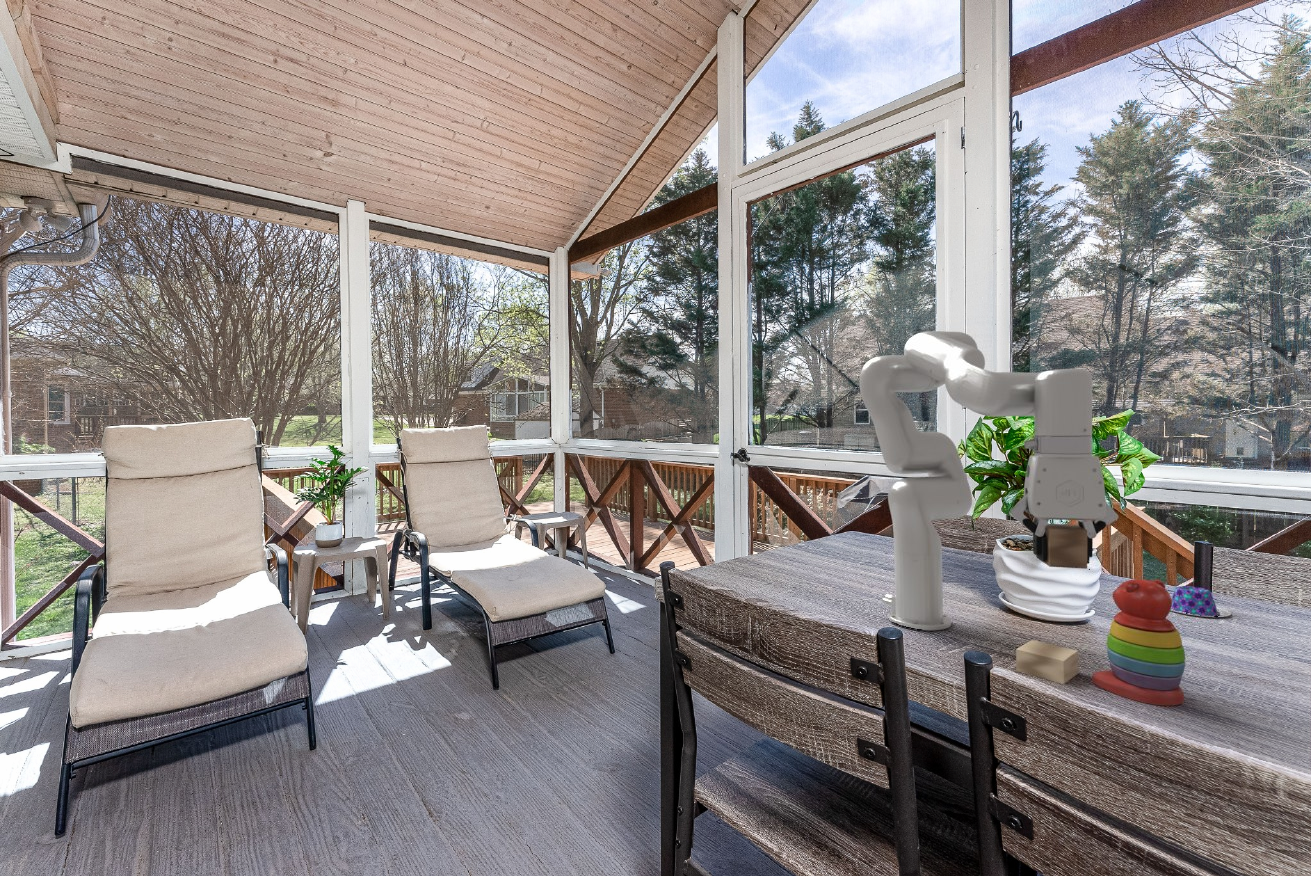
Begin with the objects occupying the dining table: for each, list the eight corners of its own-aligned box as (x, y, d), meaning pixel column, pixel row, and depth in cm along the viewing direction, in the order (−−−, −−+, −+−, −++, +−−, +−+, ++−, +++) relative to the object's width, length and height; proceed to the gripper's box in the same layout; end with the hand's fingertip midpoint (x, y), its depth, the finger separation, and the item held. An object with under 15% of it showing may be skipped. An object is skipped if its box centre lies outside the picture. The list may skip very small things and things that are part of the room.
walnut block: (1049, 566, 90) (1049, 528, 90) (1038, 559, 95) (1039, 523, 95) (1087, 568, 89) (1087, 530, 89) (1074, 561, 94) (1074, 524, 94)
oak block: (1016, 672, 99) (1016, 649, 99) (1032, 661, 104) (1032, 639, 104) (1063, 685, 94) (1063, 660, 94) (1078, 674, 98) (1078, 650, 98)
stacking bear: (1148, 677, 96) (1146, 570, 96) (1208, 705, 86) (1206, 586, 86) (1084, 679, 95) (1083, 572, 95) (1138, 708, 85) (1136, 588, 85)
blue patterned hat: (1148, 609, 132) (1148, 586, 132) (1170, 601, 138) (1169, 579, 138) (1219, 623, 122) (1219, 599, 122) (1239, 613, 128) (1238, 590, 128)
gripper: (1008, 448, 91) (1008, 563, 91) (1138, 448, 86) (1137, 569, 86) (995, 446, 98) (995, 552, 98) (1114, 446, 93) (1114, 558, 93)
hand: (1062, 559), depth 92 cm, fingers closed on walnut block, 5 cm apart
